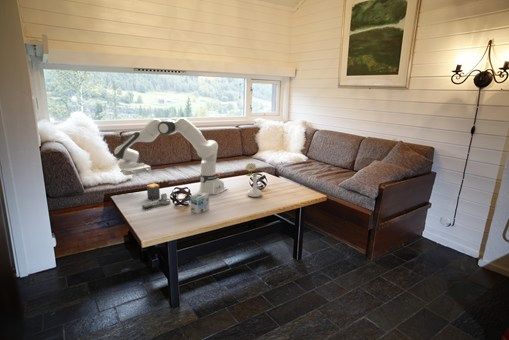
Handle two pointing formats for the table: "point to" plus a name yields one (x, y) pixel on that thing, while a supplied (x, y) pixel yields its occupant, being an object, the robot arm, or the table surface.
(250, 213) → the table surface
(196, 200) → the light bulb box
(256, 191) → the flower in vase
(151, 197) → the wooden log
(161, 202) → the ratchet
